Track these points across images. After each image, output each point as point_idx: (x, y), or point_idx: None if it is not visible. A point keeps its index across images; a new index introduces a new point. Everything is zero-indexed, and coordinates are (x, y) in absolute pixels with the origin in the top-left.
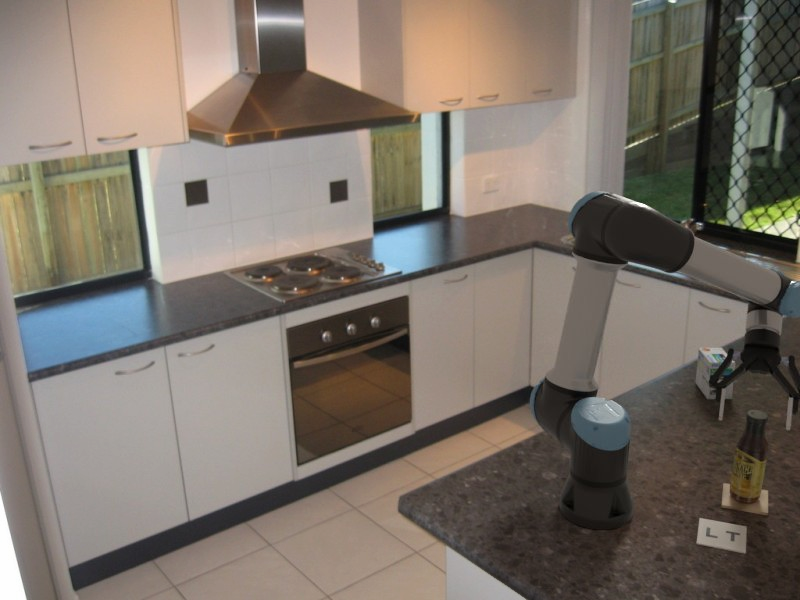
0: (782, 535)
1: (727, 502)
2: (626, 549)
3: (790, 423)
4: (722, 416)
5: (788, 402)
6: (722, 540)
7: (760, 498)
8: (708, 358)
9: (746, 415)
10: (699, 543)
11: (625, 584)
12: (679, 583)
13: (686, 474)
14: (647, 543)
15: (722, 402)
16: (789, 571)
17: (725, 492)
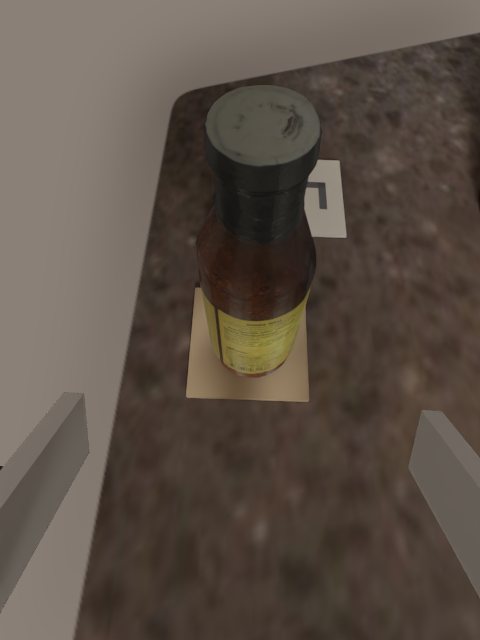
0: (171, 228)
1: None
2: (452, 123)
3: (59, 402)
4: (423, 410)
5: (4, 559)
6: None
7: (209, 347)
8: None
9: (319, 146)
10: (333, 160)
11: (424, 58)
12: (348, 75)
13: None
14: (423, 145)
15: (476, 468)
16: (173, 135)
17: (300, 350)
